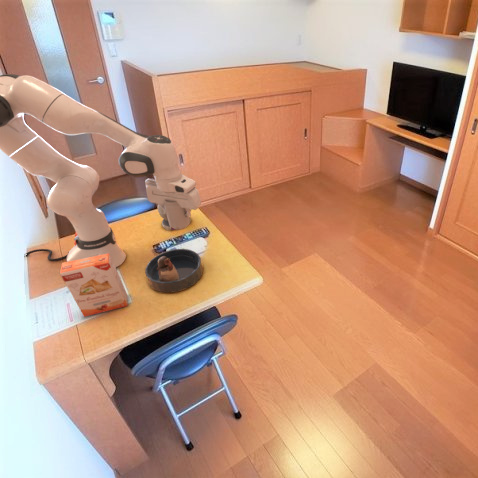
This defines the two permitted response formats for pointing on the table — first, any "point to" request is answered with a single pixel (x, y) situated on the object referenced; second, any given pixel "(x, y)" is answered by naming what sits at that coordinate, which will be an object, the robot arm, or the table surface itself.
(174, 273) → the figurine
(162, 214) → the webcam
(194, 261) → the bowl
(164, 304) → the table surface
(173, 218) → the can
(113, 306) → the cracker box
